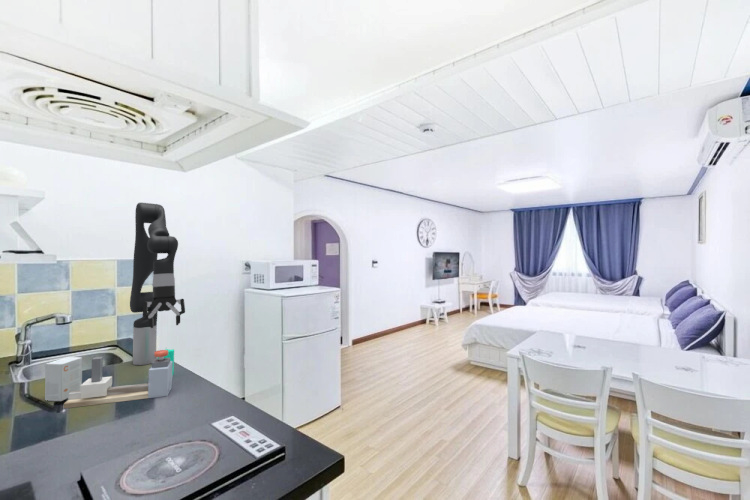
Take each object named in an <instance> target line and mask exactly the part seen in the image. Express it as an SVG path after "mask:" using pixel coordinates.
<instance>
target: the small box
mask: <svg viewBox="0 0 750 500" xmlns="http://www.w3.org/2000/svg"><path fill="white" fill-rule="evenodd" d="M44 367H45V370H44V371H45V373H44V374H45V378H44V379H45V380H44V382H45V383H44V388H45V389H44V401H45V400H46V402H51V401H52V402H62V401H64V400H68V394H69V393H70V392H72V391H80V385H82V384H83V357H82V356H80V357H79V356H66V357H62V358H60V359H57V360H54V361H50V362H47V363H45V365H44ZM47 400H48V401H47Z"/></svg>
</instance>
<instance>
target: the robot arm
mask: <svg viewBox="0 0 750 500" xmlns="http://www.w3.org/2000/svg"><path fill="white" fill-rule="evenodd" d="M165 212H166V211H165V209H164V206H163V205H162V204H157V203H150V202H138V203H137V204H136V207H135V213H134V214H135V217H134V218H135V241H134V250H133V261H132V262H133V264H132V267H133V269H132V270H133V271H132V272H133V273H132V286H131V292H130V299H129V308H130V311H131V312H132V313H142V317H140V318H137V319H136V320H134V321H133V327H132V328H133V332H132V333H133V334H132V337H133V338H132V365H134V366H143V365H150V364H152V362H153V361H154V359H157V357H155V356H154V352H155V351H157V335H158V332H157V331H158V330H157V329H158V328H157V327H158V326H157V325H158V323H157V322H158V312H164V311H165V312H169V311H172V312H173V313H174V314H175V315H176V316H175V325H176V326H179V324H180V323H181V315H183V314H185V313H186V306H185V299H184V298H179V299H176V283H175V282H176V278H175V275H174V274H175V273H174V271H175V270H174V269H175V267H174V265H175V257H176V253H177V251H178V247H179V240H178V239H177V238H176V237H175V236H171V235H170V233H169V230H168V227H167V221H166V213H165ZM145 224H149V225H148V229H147V231H146V228H145ZM147 232H148V233H147ZM148 235H149V236H148ZM160 254H167V256H166V257H164V258H159V259H158V255H160ZM152 273H153V275H152ZM151 275H152V285H151V286H152V291H144V292H143V291H142V289H143V286H144V284H145V282H146V280H147V279H148V278H149V277H150V276H151ZM177 303H178V305H180V311H179V310H178V309H177V308H176V307H175V305H176V304H177Z"/></svg>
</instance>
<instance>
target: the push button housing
mask: <svg viewBox="0 0 750 500" xmlns="http://www.w3.org/2000/svg"><path fill="white" fill-rule="evenodd" d="M147 382H148V398H147V399H152V398H153V399H154V398H162V397H167V396H168V395H169V393H170V392H171V390H172V388H173V376H172V361H170V358H164V361H159V359H158V358H156V359H154V361H153V362H152V363H151V367H150V368H149V369H148V381H147Z"/></svg>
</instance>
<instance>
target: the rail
mask: <svg viewBox="0 0 750 500" xmlns="http://www.w3.org/2000/svg"><path fill="white" fill-rule="evenodd" d="M143 399H144V400H145V399H149V398H148V383H147V382H146V383H138V384H129V385H127V384H126V385H120V386H111V387H109V388H108V389H107V395H106V396H100V397H92V398H83V399H81V394H80V391H72V392H70V393H69V394H68V398H67V400H66V401H65V402H64V403H63V407H62V408H63V409H70V408H79V407H86V406H94V405H95V406H96V405H104V404H112V403H120V402H129V401H136V400H143Z"/></svg>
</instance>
